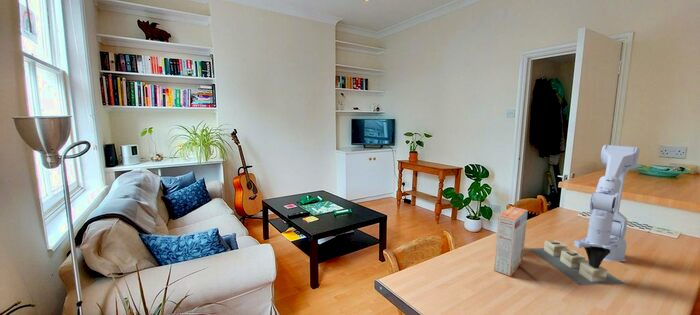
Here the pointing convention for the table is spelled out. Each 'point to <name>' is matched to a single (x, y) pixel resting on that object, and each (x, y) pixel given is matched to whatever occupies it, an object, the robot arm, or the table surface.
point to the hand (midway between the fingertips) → (593, 266)
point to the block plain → (593, 272)
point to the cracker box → (510, 240)
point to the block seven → (572, 259)
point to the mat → (572, 269)
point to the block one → (554, 247)
